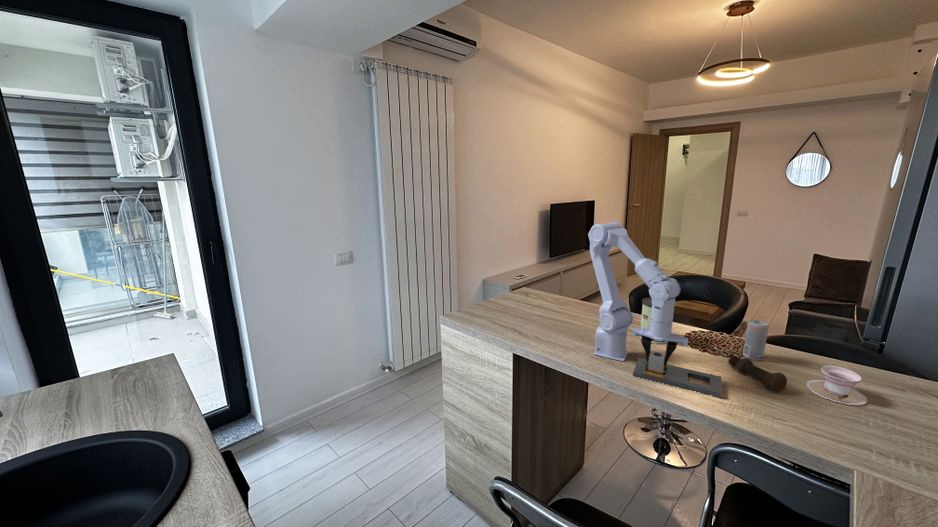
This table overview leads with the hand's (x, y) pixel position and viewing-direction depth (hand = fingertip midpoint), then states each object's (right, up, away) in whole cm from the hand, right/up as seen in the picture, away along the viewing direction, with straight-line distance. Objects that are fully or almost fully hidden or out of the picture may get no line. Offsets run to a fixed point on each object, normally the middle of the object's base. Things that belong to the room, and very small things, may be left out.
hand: (656, 362), depth 111 cm
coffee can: (+12, +2, +25) cm, 28 cm away
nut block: (0, -3, 0) cm, 3 cm away
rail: (+5, -4, -2) cm, 7 cm away
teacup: (+44, -6, -10) cm, 45 cm away
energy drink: (+36, -1, +10) cm, 38 cm away
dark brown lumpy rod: (+27, -4, -2) cm, 28 cm away
